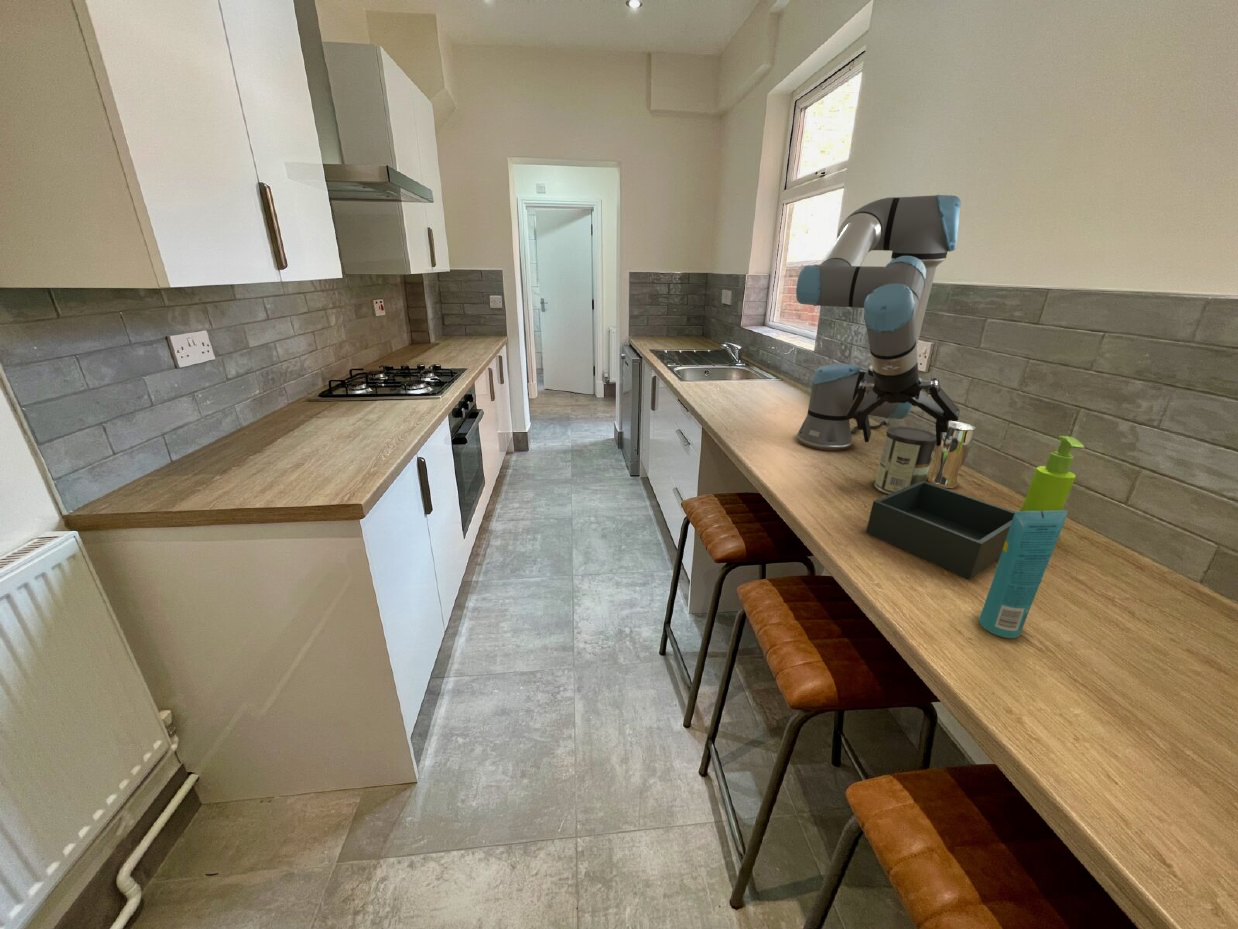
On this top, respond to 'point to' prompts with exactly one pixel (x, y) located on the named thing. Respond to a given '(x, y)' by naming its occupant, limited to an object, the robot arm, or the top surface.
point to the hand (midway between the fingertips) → (902, 439)
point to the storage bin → (942, 527)
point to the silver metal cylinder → (951, 454)
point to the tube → (1020, 570)
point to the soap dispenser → (1052, 479)
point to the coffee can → (904, 458)
